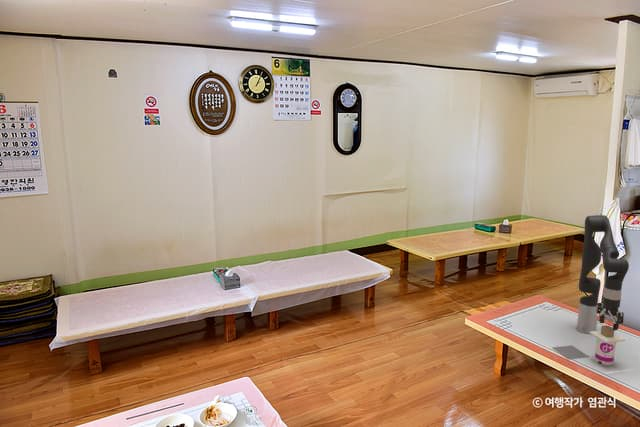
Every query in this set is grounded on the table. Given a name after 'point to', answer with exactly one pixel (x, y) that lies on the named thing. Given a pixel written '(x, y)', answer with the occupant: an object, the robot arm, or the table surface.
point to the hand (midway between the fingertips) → (608, 326)
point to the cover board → (607, 340)
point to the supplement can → (605, 352)
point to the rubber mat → (570, 352)
